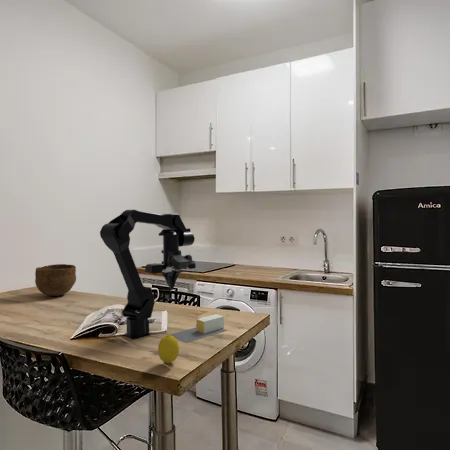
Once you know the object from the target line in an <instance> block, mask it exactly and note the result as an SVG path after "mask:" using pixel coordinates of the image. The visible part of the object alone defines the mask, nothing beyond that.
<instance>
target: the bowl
mask: <svg viewBox="0 0 450 450" xmlns="http://www.w3.org/2000/svg"><path fill="white" fill-rule="evenodd" d="M76 269H77V268H76V265H74V264H64V263H63V264H62V263H61V264H59V263H57V264H50V265H44V266H39V267H36V268H35V273H34V275H35V280H34V283H35V285H36V288H37V289H38V291H39V292H40V293H41V294H43V295H45V296H53V297H60V296H63V295H65V294H67V293H69V292H70V291H71V289H72V288H73V287H74V286H75V283H76V281H77V275H76V273H77V270H76Z"/></svg>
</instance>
